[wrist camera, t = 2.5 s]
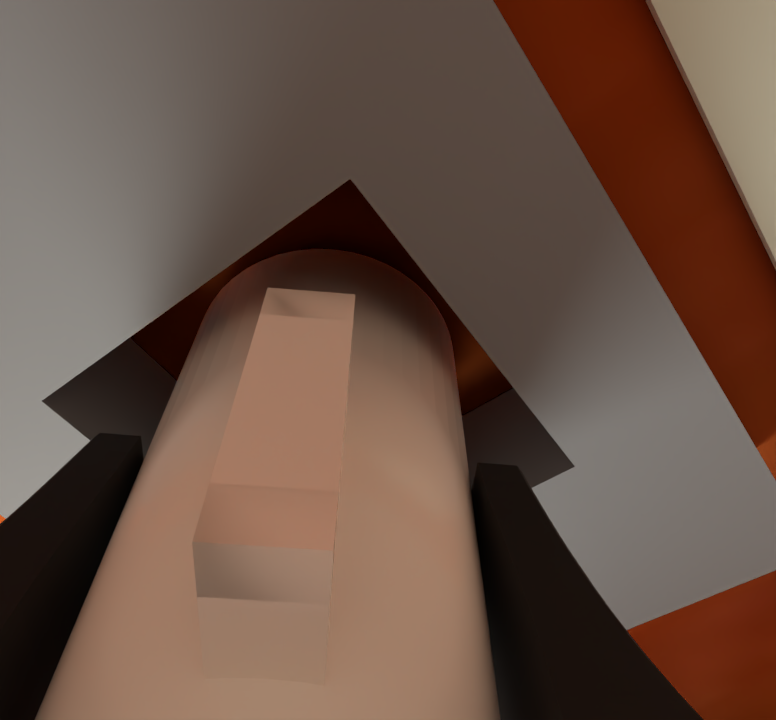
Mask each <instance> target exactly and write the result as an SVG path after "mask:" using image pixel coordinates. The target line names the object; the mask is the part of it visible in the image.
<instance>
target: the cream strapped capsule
mask: <svg viewBox="0 0 776 720" xmlns="http://www.w3.org/2000/svg"><path fill="white" fill-rule="evenodd" d="M35 720H501V719H500V711H499V703H498V695H497V688H496V680H495V672H494V664H493V656H492V649H491V641H490V633H489V625H488V617H487V610H486V602H485V594H484V586H483V579H482V571H481V563H480V555H479V547H478V540H477V532H476V524H475V516H474V508H473V501H472V493H471V485H470V477H469V469H468V462H467V454H466V446H465V438H464V430H463V423H462V415H461V407H460V399H459V391H458V384H457V376H456V368H455V360H454V352H453V346H452V342H451V337H450V333H449V331H448V328H447V326H446V323H445V321H444V318H443V317H442V315H441V313H440V312H439V310H438V308H437V307H436V305H435V304H434V303H433V301H432V300H431V299H430V298H429V296H428V295H427V294H426V293H425V292H424V291H423V290H422V289H421V288H420V287H419V286H418V285H417V284H416V283H415V282H413V281H412V280H411V279H409V278H408V277H407V276H405V275H404V274H402V273H401V272H400V271H398V270H396V269H394V268H392V267H390V266H389V265H387V264H385V263H383V262H380V261H378V260H375V259H373V258H370V257H367V256H364V255H360V254H356V253H352V252H347V251H340V250H333V249H308V250H298V251H292V252H287V253H283V254H279V255H276V256H273V257H270V258H267V259H265V260H262V261H260V262H258V263H256V264H254V265H252V266H250V267H248V268H246V269H245V270H244V271H242V272H241V273H239V274H238V275H237V276H235V277H234V278H232V279H231V280H230V281H229V282H228V283H227V284H226V285H225V286H224V287H223V288H222V289H221V290H220V292H219V293H218V294H217V296H216V297H215V298H214V300H213V301H212V302H211V304H210V306H209V308H208V310H207V312H206V314H205V316H204V318H203V321H202V323H201V325H200V328H199V330H198V332H197V335H196V337H195V340H194V342H193V344H192V347H191V349H190V351H189V354H188V356H187V359H186V361H185V363H184V366H183V368H182V370H181V373H180V375H179V378H178V380H177V382H176V385H175V387H174V389H173V392H172V394H171V397H170V399H169V401H168V404H167V406H166V408H165V411H164V413H163V416H162V418H161V420H160V423H159V425H158V428H157V430H156V432H155V435H154V437H153V439H152V442H151V444H150V447H149V449H148V451H147V454H146V456H145V458H144V461H143V463H142V466H141V468H140V470H139V473H138V475H137V477H136V480H135V482H134V485H133V487H132V489H131V492H130V494H129V496H128V499H127V501H126V504H125V506H124V508H123V511H122V513H121V516H120V518H119V520H118V523H117V525H116V527H115V530H114V532H113V535H112V537H111V539H110V542H109V544H108V546H107V549H106V551H105V554H104V556H103V558H102V561H101V563H100V565H99V568H98V570H97V573H96V575H95V577H94V580H93V582H92V584H91V587H90V589H89V592H88V594H87V596H86V599H85V601H84V604H83V606H82V608H81V611H80V613H79V615H78V618H77V620H76V623H75V625H74V627H73V630H72V632H71V634H70V637H69V639H68V642H67V644H66V646H65V649H64V651H63V653H62V656H61V658H60V661H59V663H58V665H57V668H56V670H55V672H54V675H53V677H52V680H51V682H50V684H49V687H48V689H47V691H46V694H45V696H44V699H43V701H42V703H41V706H40V708H39V711H38V713H37V715H36V718H35Z"/></svg>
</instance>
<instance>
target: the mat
mask: <svg viewBox="0 0 776 720" xmlns="http://www.w3.org/2000/svg"><path fill="white" fill-rule="evenodd" d="M645 1H646V3H647V5H648V7H649V9H650V11H651V14H652V16H653V18H654V20H655V22H656V24H657V26H658V28H659V30H660V32H661V34H662V36H663V38H664V40H665V42H666V45H667V47H668V49H669V51H670V53H671V55H672V57H673V59H674V61H675V63H676V65H677V67H678V69H679V71H680V73H681V76H682V78H683V80H684V82H685V84H686V86H687V88H688V90H689V92H690V94H691V96H692V98H693V100H694V102H695V104H696V107H697V109H698V111H699V113H700V115H701V117H702V119H703V121H704V123H705V125H706V127H707V129H708V131H709V133H710V135H711V138H712V140H713V142H714V144H715V146H716V148H717V150H718V152H719V154H720V156H721V158H722V160H723V162H724V164H725V166H726V169H727V171H728V173H729V175H730V177H731V179H732V181H733V183H734V185H735V187H736V189H737V191H738V193H739V195H740V197H741V200H742V202H743V204H744V206H745V208H746V210H747V212H748V214H749V216H750V218H751V220H752V222H753V224H754V226H755V228H756V231H757V233H758V235H759V237H760V239H761V241H762V243H763V245H764V247H765V249H766V251H767V253H768V255H769V257H770V259H771V262H772V264H773V266H774V268H775V270H776V0H645Z"/></svg>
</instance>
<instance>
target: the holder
mask: <svg viewBox="0 0 776 720" xmlns="http://www.w3.org/2000/svg"><path fill="white" fill-rule="evenodd" d="M349 179H351V180H352V182H353V183H354V184H355V186H356V187H357V188H358V189H359V191H360V192H361V193H362V195H363V196H364V197H365V198H366V200H367V201H368V202H369V204H370V205H371V206H372V207H373V209H374V210H375V211H376V212H377V214H378V215H379V216H380V218H381V219H382V220H383V221H384V223H385V224H386V225H387V227H388V228H389V229H390V230H391V232H392V233H393V234H394V236H395V237H396V238H397V239H398V241H399V242H400V243H401V244H402V246H403V247H404V248H405V250H406V251H407V252H408V253H409V255H410V256H411V257H412V259H413V260H414V261H415V262H416V264H417V265H418V266H419V268H420V269H421V270H422V271H423V273H424V274H425V275H426V277H427V278H428V279H429V280H430V282H431V283H432V284H433V285H434V287H435V288H436V289H437V291H438V292H439V293H440V294H441V296H442V297H443V298H444V300H445V301H446V302H447V303H448V305H449V306H450V307H451V309H452V310H453V311H454V312H455V314H456V315H457V316H458V317H459V319H460V320H461V321H462V323H463V324H464V325H465V326H466V328H467V329H468V330H469V332H470V333H471V334H472V335H473V337H474V338H475V339H476V341H477V342H478V343H479V344H480V346H481V347H482V348H483V349H484V351H485V352H486V353H487V355H488V356H489V357H490V358H491V360H492V361H493V362H494V364H495V365H496V366H497V367H498V369H499V370H500V371H501V373H502V374H503V375H504V376H505V378H506V379H507V380H508V381H509V383H510V384H511V385H512V387H513V389H511V390H509V391H507V392H505V393H503V394H502V395H500V396H498V397H496V398H494V399H492V400H491V401H489V402H487V403H485V404H483V405H482V406H480V407H478V408H476V409H474V410H472V411H471V412H469V413H467V414H465V415H463V416H462V423H463V430H464V438H465V446H466V454H467V462H468V469H469V477H470V485H471V490H472V485H473V481H474V476H475V472H476V467H477V463H491V464H504V465H516V466H518V467H519V469H520V470H521V471H522V472H523V474H524V476H525V478H526V479H527V481H528V483H529V485H530V486H531V488H532V490H533V492H534V493H535V495H536V497H537V499H538V500H539V502H540V504H541V505H542V507H543V509H544V510H545V512H546V514H547V515H548V517H549V519H550V520H551V522H552V523H553V525H554V527H555V528H556V530H557V532H558V533H559V535H560V536H561V538H562V539H563V541H564V543H565V544H566V546H567V547H568V549H569V550H570V552H571V553H572V555H573V556H574V558H575V559H576V561H577V562H578V564H579V565H580V567H581V568H582V570H583V571H584V572H585V574H586V575H587V577H588V578H589V580H590V581H591V583H592V584H593V586H594V587H595V589H596V590H597V591H598V593H599V594H600V595H601V597H602V598H603V600H604V601H605V602H606V604H607V605H608V607H609V608H610V609H611V610H612V612H613V613H614V614H615V616H616V617H617V618H618V620H619V621H620V622H621V624H622V625H623V626H624V628H625V629H626V630H628V629H630V628H633V627H635V626H638V625H640V624H643V623H645V622H648V621H650V620H653V619H655V618H658V617H660V616H663V615H665V614H668V613H670V612H673V611H675V610H678V609H680V608H683V607H685V606H688V605H690V604H693V603H695V602H698V601H700V600H703V599H705V598H708V597H710V596H713V595H715V594H718V593H720V592H723V591H725V590H728V589H730V588H733V587H735V586H738V585H740V584H743V583H745V582H748V581H750V580H753V579H755V578H758V577H760V576H763V575H765V574H768V573H770V572H773V571H775V570H776V481H775V479H774V477H773V475H772V474H771V472H770V470H769V469H768V467H767V465H766V464H765V462H764V460H763V458H762V457H761V455H760V453H759V452H758V450H757V448H756V447H755V445H754V443H753V441H752V440H751V438H750V436H749V435H748V433H747V431H746V430H745V428H744V426H743V424H742V423H741V421H740V419H739V418H738V416H737V414H736V413H735V411H734V409H733V407H732V406H731V404H730V402H729V401H728V399H727V397H726V396H725V394H724V392H723V390H722V389H721V387H720V385H719V384H718V382H717V380H716V379H715V377H714V375H713V373H712V372H711V370H710V368H709V367H708V365H707V363H706V361H705V360H704V358H703V356H702V355H701V353H700V351H699V350H698V348H697V346H696V344H695V343H694V341H693V339H692V338H691V336H690V334H689V333H688V331H687V329H686V327H685V326H684V324H683V322H682V321H681V319H680V317H679V316H678V314H677V312H676V310H675V309H674V307H673V305H672V304H671V302H670V300H669V299H668V297H667V295H666V293H665V292H664V290H663V288H662V287H661V285H660V283H659V282H658V280H657V278H656V276H655V275H654V273H653V271H652V270H651V268H650V266H649V265H648V263H647V261H646V259H645V258H644V256H643V254H642V253H641V251H640V249H639V248H638V246H637V244H636V242H635V241H634V239H633V237H632V236H631V234H630V232H629V230H628V229H627V227H626V225H625V224H624V222H623V220H622V219H621V217H620V215H619V213H618V212H617V210H616V208H615V207H614V205H613V203H612V202H611V200H610V198H609V196H608V195H607V193H606V191H605V190H604V188H603V186H602V185H601V183H600V181H599V179H598V178H597V176H596V174H595V173H594V171H593V169H592V168H591V166H590V164H589V162H588V161H587V159H586V157H585V156H584V154H583V152H582V151H581V149H580V147H579V145H578V144H577V142H576V140H575V139H574V137H573V135H572V134H571V132H570V130H569V128H568V127H567V125H566V123H565V122H564V120H563V118H562V117H561V115H560V113H559V111H558V110H557V108H556V106H555V105H554V103H553V101H552V100H551V98H550V96H549V94H548V93H547V91H546V89H545V88H544V86H543V84H542V82H541V81H540V79H539V77H538V76H537V74H536V72H535V71H534V69H533V67H532V65H531V64H530V62H529V60H528V59H527V57H526V55H525V54H524V52H523V50H522V48H521V47H520V45H519V43H518V42H517V40H516V38H515V37H514V35H513V33H512V31H511V30H510V28H509V26H508V25H507V23H506V21H505V20H504V18H503V16H502V14H501V13H500V11H499V9H498V8H497V6H496V4H495V3H494V1H493V0H0V515H2V516H3V517H4V518H7V517H9V516H10V515H11V514H12V513H13V512H14V511H15V510H16V509H18V508H19V507H20V506H21V505H22V504H23V503H24V502H25V501H27V500H28V499H29V498H30V497H31V496H32V495H33V494H34V493H35V492H36V491H37V490H39V489H40V488H41V487H42V486H43V485H44V484H45V483H46V482H47V481H48V480H49V479H50V478H51V477H52V476H54V475H55V474H56V473H57V472H58V471H59V470H60V469H61V468H62V467H63V466H64V465H65V464H66V463H67V462H68V461H69V460H70V459H71V458H73V457H74V456H75V455H76V454H77V453H78V452H79V451H80V450H81V449H82V448H83V447H84V446H85V445H86V444H87V443H88V442H89V441H91V440H92V439H93V438H94V437H95V436H96V435H98V434H99V433H109V434H122V435H134V436H141V440H142V449H143V458H145V456H146V454H147V451H148V449H149V447H150V444H151V442H152V439H153V437H154V435H155V432H156V430H157V428H158V425H159V423H160V420H161V418H162V416H163V413H164V411H165V408H166V406H167V404H168V401H169V399H170V397H171V394H172V392H173V389H174V387H175V385H176V382H177V381H176V380H175V379H174V378H173V377H172V376H171V375H170V374H169V373H168V372H167V371H166V370H164V369H163V368H162V367H161V366H160V365H159V364H158V363H157V362H156V361H155V360H154V359H152V358H151V357H150V356H149V355H148V354H147V353H146V352H145V351H144V350H143V349H142V348H141V347H139V346H138V345H137V344H136V343H135V342H134V341H133V340H132V339H131V338H130V337H131V336H133V335H134V334H135V333H137V332H138V331H140V330H141V329H142V328H144V327H145V326H146V325H148V324H149V323H151V322H152V321H153V320H155V319H156V318H158V317H159V316H160V315H162V314H163V313H165V312H166V311H167V310H169V309H170V308H171V307H173V306H174V305H176V304H177V303H178V302H180V301H181V300H183V299H184V298H185V297H187V296H188V295H190V294H191V293H192V292H194V291H195V290H196V289H198V288H199V287H201V286H202V285H203V284H205V283H206V282H208V281H209V280H210V279H212V278H213V277H215V276H216V275H217V274H219V273H220V272H221V271H223V270H224V269H226V268H227V267H228V266H230V265H231V264H233V263H234V262H235V261H237V260H238V259H240V258H241V257H242V256H244V255H245V254H246V253H248V252H249V251H251V250H252V249H253V248H255V247H256V246H258V245H259V244H260V243H262V242H263V241H265V240H266V239H267V238H269V237H270V236H272V235H273V234H274V233H276V232H277V231H278V230H280V229H281V228H283V227H284V226H285V225H287V224H288V223H290V222H291V221H292V220H294V219H295V218H297V217H298V216H299V215H301V214H302V213H303V212H305V211H306V210H308V209H309V208H310V207H312V206H313V205H315V204H316V203H317V202H319V201H320V200H322V199H323V198H324V197H326V196H327V195H328V194H330V193H331V192H333V191H334V190H335V189H337V188H338V187H340V186H341V185H342V184H344V183H345V182H347V181H348V180H349Z"/></svg>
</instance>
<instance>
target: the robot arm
mask: <svg viewBox="0 0 776 720" xmlns="http://www.w3.org/2000/svg"><path fill="white" fill-rule="evenodd" d="M143 461H144V458H143V449H142V440H141V436H134V435H122V434H109V433H99V434H98V435H96V436H95V437H94V438H93V439H92V440H91V441H89V442H88V443H87V444H86V445H85V446H84V447H83V448H82V449H81V450H80V451H79V452H78V453H77V454H76V455H75V456H74V457H73V458H71V459H70V460H69V461H68V462H67V463H66V464H65V465H64V466H63V467H62V468H61V469H60V470H59V471H58V472H57V473H56V474H55V475H54V476H52V477H51V478H50V479H49V480H48V481H47V482H46V483H45V484H44V485H43V486H42V487H41V488H40V489H39V490H37V491H36V492H35V493H34V494H33V495H32V496H31V497H30V498H29V499H28V500H27V501H25V502H24V503H23V504H22V505H21V506H20V507H19V508H18V509H16V510H15V511H14V512H13V513H12V514H11V515H10V516H9V517H7V518H6V519H5V520H4V521H3V522H2V523H1V524H0V720H35V718H36V715H37V713H38V711H39V708H40V706H41V703H42V701H43V699H44V696H45V694H46V691H47V689H48V687H49V684H50V682H51V680H52V677H53V675H54V672H55V670H56V668H57V665H58V663H59V661H60V658H61V656H62V653H63V651H64V649H65V646H66V644H67V642H68V639H69V637H70V634H71V632H72V630H73V627H74V625H75V623H76V620H77V618H78V615H79V613H80V611H81V608H82V606H83V604H84V601H85V599H86V596H87V594H88V592H89V589H90V587H91V584H92V582H93V580H94V577H95V575H96V573H97V570H98V568H99V565H100V563H101V561H102V558H103V556H104V554H105V551H106V549H107V546H108V544H109V542H110V539H111V537H112V535H113V532H114V530H115V527H116V525H117V523H118V520H119V518H120V516H121V513H122V511H123V508H124V506H125V504H126V501H127V499H128V496H129V494H130V492H131V489H132V487H133V485H134V482H135V480H136V477H137V475H138V473H139V470H140V468H141V466H142V463H143ZM471 493H472V501H473V508H474V516H475V524H476V532H477V540H478V547H479V555H480V563H481V571H482V579H483V586H484V594H485V602H486V610H487V617H488V625H489V633H490V641H491V649H492V656H493V664H494V672H495V680H496V688H497V695H498V703H499V711H500V719H501V720H703V719H702V718H701V717H700V715H699V714H698V713H697V712H696V711H695V710H694V709H693V708H692V707H691V706H690V705H689V704H688V703H687V701H686V700H685V699H684V698H683V697H682V696H681V695H680V694H679V693H678V692H677V690H676V689H675V688H674V687H673V686H672V685H671V683H670V682H669V681H668V680H667V679H666V678H665V677H664V675H663V674H662V673H661V672H660V671H659V670H658V669H657V667H656V666H655V665H654V664H653V663H652V661H651V660H650V659H649V658H648V657H647V655H646V654H645V653H644V652H643V650H642V649H641V648H640V647H639V645H638V644H637V643H636V642H635V640H634V639H633V638H632V637H631V635H630V634H629V633H628V632H627V630H626V629H625V628H624V626H623V625H622V624H621V622H620V621H619V620H618V618H617V617H616V616H615V614H614V613H613V612H612V610H611V609H610V608H609V607H608V605H607V604H606V602H605V601H604V600H603V598H602V597H601V595H600V594H599V593H598V591H597V590H596V589H595V587H594V586H593V584H592V583H591V581H590V580H589V578H588V577H587V575H586V574H585V572H584V571H583V570H582V568H581V567H580V565H579V564H578V562H577V561H576V559H575V558H574V556H573V555H572V553H571V552H570V550H569V549H568V547H567V546H566V544H565V543H564V541H563V539H562V538H561V536H560V535H559V533H558V532H557V530H556V528H555V527H554V525H553V523H552V522H551V520H550V519H549V517H548V515H547V514H546V512H545V510H544V509H543V507H542V505H541V504H540V502H539V500H538V499H537V497H536V495H535V493H534V492H533V490H532V488H531V486H530V485H529V483H528V481H527V479H526V478H525V476H524V474H523V472H522V471H521V470H520V469H519V467H518V466H516V465H504V464H491V463H477V467H476V472H475V476H474V481H473V485H472V490H471Z"/></svg>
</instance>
